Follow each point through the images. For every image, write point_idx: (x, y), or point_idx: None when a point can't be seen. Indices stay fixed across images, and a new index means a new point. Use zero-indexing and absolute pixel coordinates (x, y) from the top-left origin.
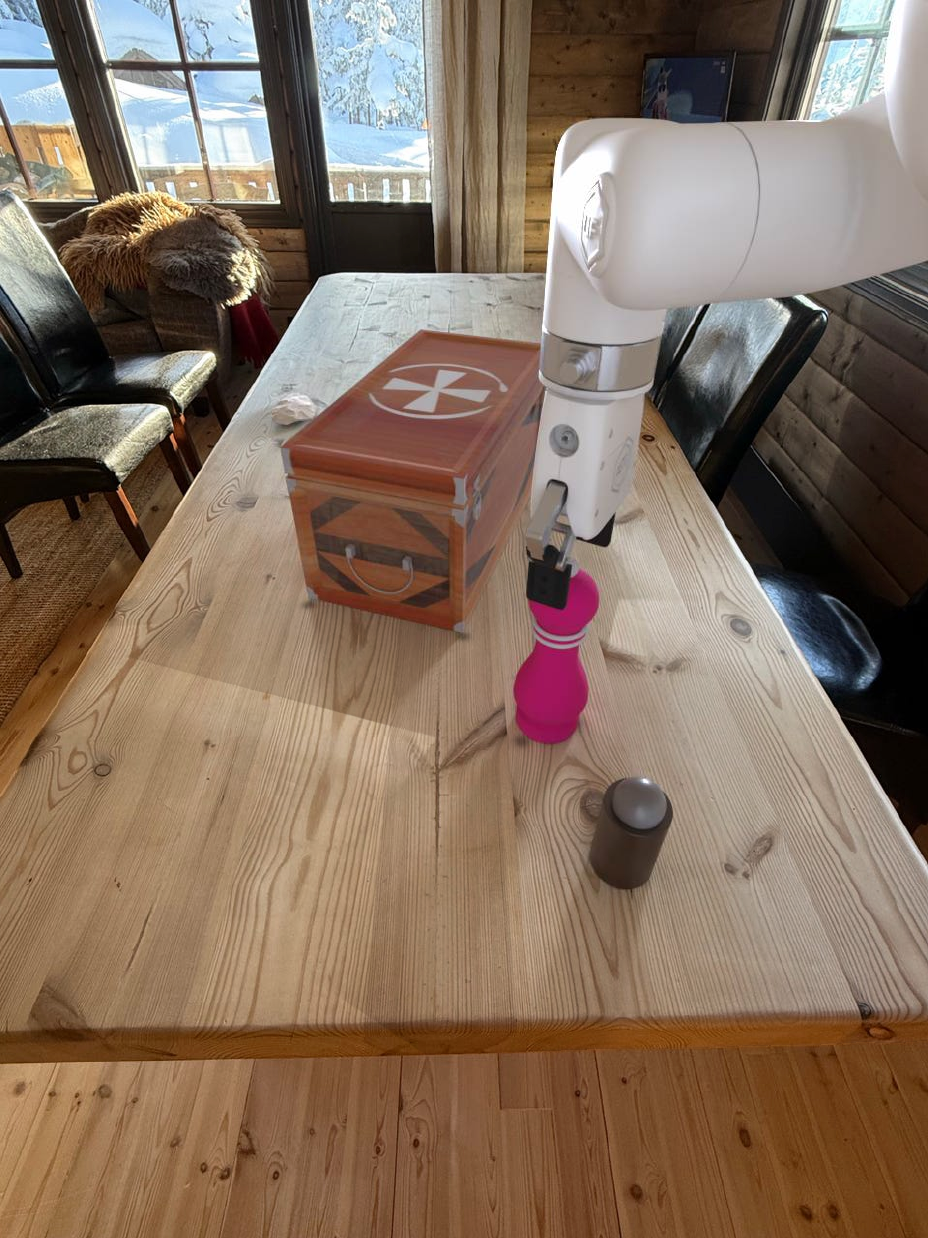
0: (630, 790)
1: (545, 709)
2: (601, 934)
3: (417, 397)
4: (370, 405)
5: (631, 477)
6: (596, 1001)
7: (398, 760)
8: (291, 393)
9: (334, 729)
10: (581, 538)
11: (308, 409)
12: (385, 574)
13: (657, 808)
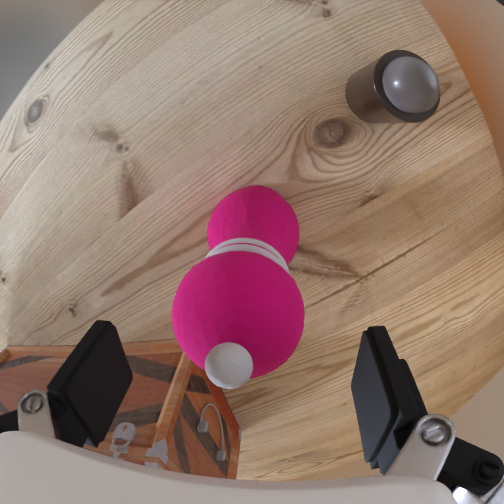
0: (429, 95)
1: (296, 226)
2: None
3: None
4: None
5: (4, 474)
6: (468, 93)
7: (365, 308)
8: None
9: (355, 360)
10: (128, 369)
11: None
12: (210, 423)
13: (426, 64)
